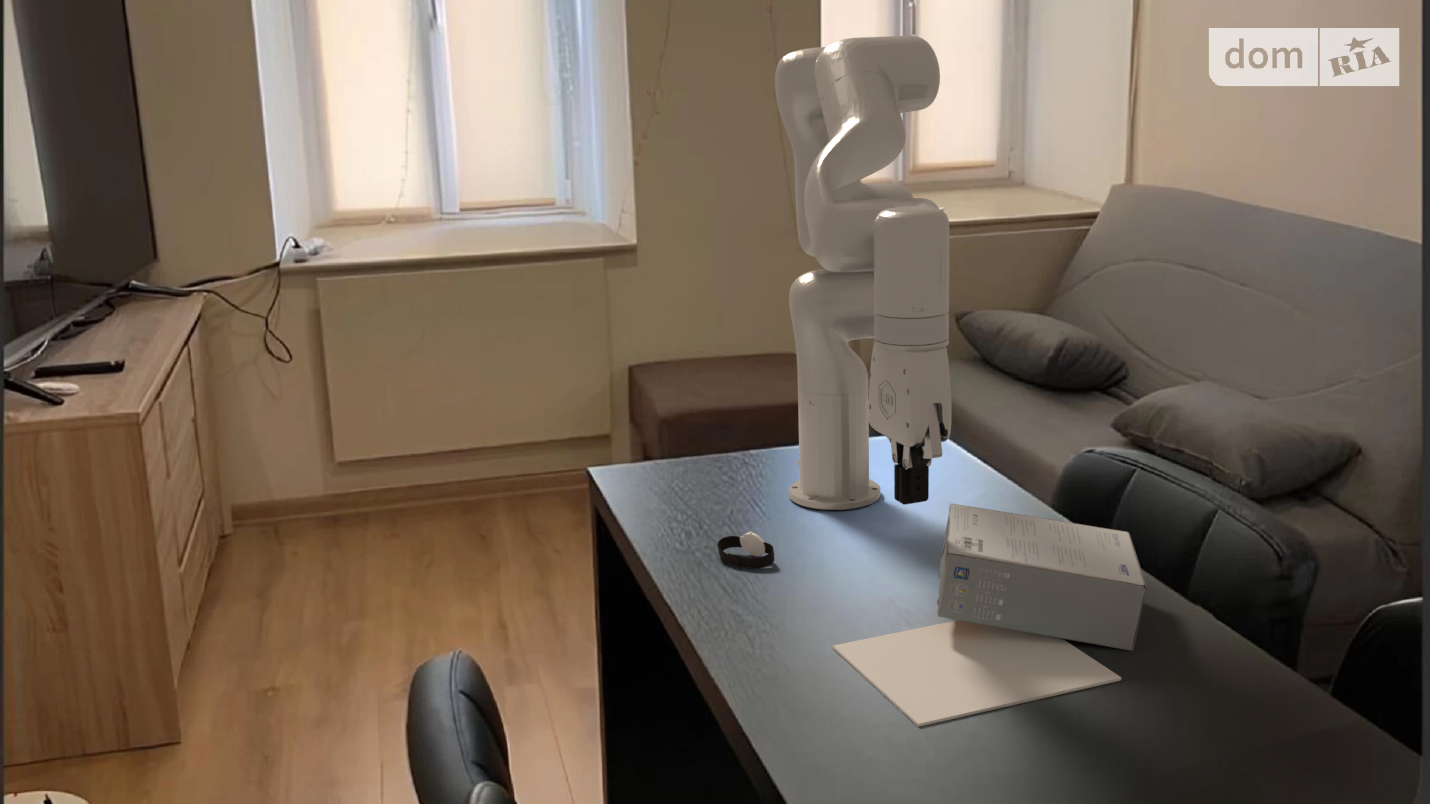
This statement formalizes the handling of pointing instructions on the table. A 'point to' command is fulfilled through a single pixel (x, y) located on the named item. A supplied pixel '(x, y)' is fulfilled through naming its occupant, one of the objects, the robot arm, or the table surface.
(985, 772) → the table surface
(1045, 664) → the mat
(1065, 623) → the hard drive box
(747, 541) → the watch
